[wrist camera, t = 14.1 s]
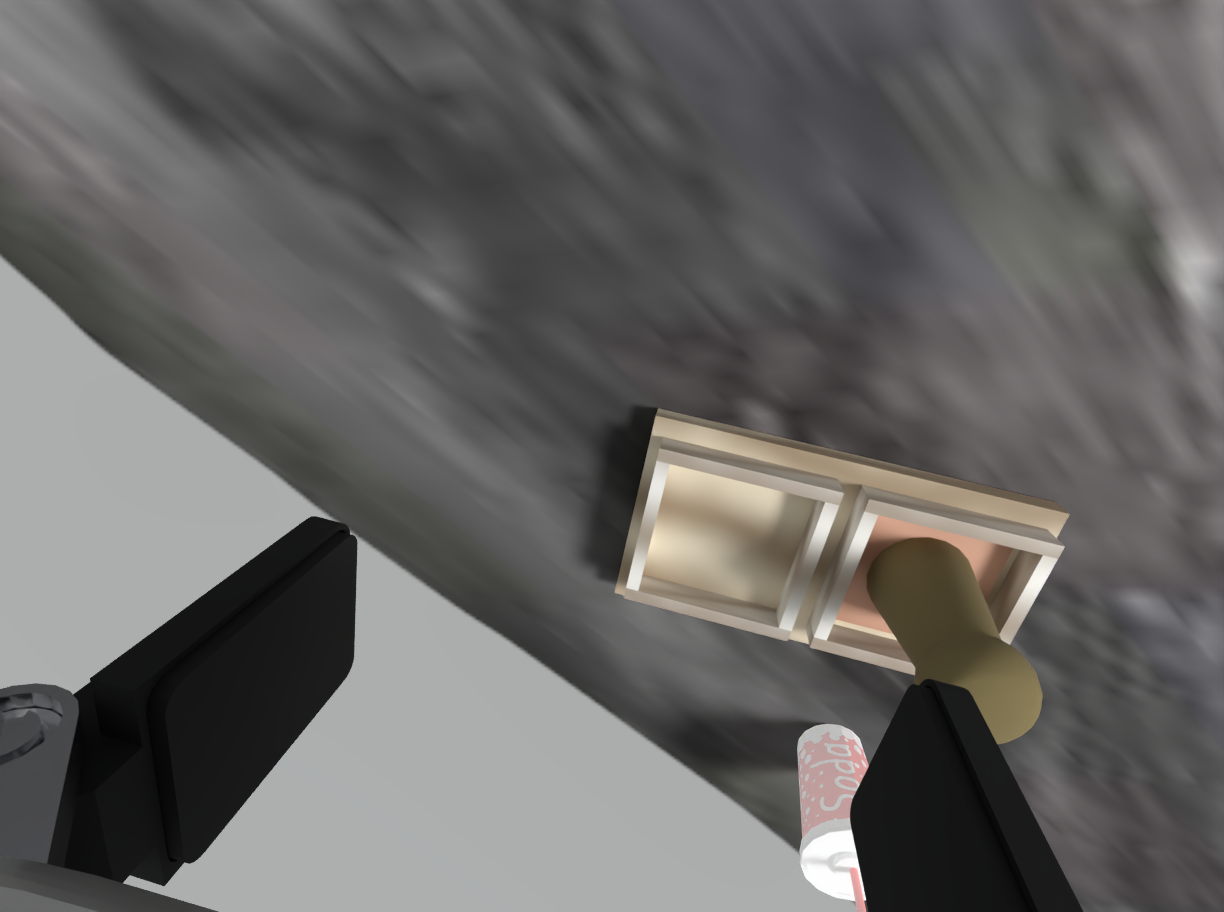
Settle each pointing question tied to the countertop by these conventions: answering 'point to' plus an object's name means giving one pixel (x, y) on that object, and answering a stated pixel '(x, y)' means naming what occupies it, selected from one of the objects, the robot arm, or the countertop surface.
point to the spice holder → (814, 536)
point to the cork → (953, 631)
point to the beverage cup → (830, 809)
